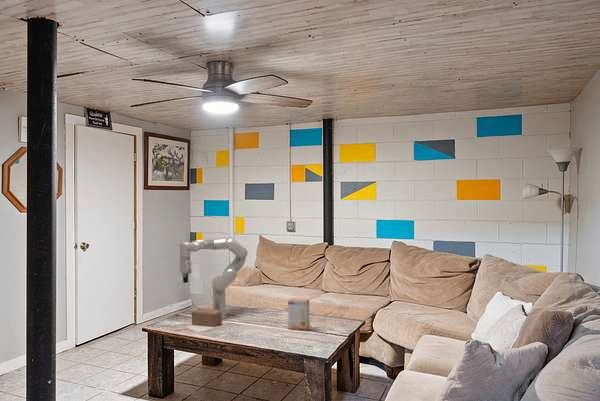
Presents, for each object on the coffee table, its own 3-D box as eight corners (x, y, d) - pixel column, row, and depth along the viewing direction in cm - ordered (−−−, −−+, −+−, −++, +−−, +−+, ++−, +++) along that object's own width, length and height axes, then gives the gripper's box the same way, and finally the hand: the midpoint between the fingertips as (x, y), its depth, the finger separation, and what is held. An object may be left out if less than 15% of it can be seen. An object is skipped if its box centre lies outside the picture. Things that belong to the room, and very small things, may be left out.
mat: (205, 322, 327) (205, 321, 327) (219, 327, 314) (219, 326, 314) (184, 327, 314) (184, 327, 314) (198, 333, 302) (198, 332, 302)
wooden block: (191, 325, 319) (215, 327, 313) (191, 311, 319) (215, 313, 312) (198, 321, 328) (222, 323, 322) (198, 307, 328) (222, 309, 322)
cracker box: (309, 328, 309) (309, 299, 308) (307, 331, 303) (306, 301, 303) (291, 326, 313) (290, 297, 313) (288, 329, 307) (287, 299, 307)
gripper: (194, 258, 330) (195, 282, 330) (184, 256, 340) (184, 280, 340) (186, 259, 324) (186, 284, 325) (175, 257, 335) (176, 281, 335)
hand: (185, 282), depth 332 cm, fingers closed
